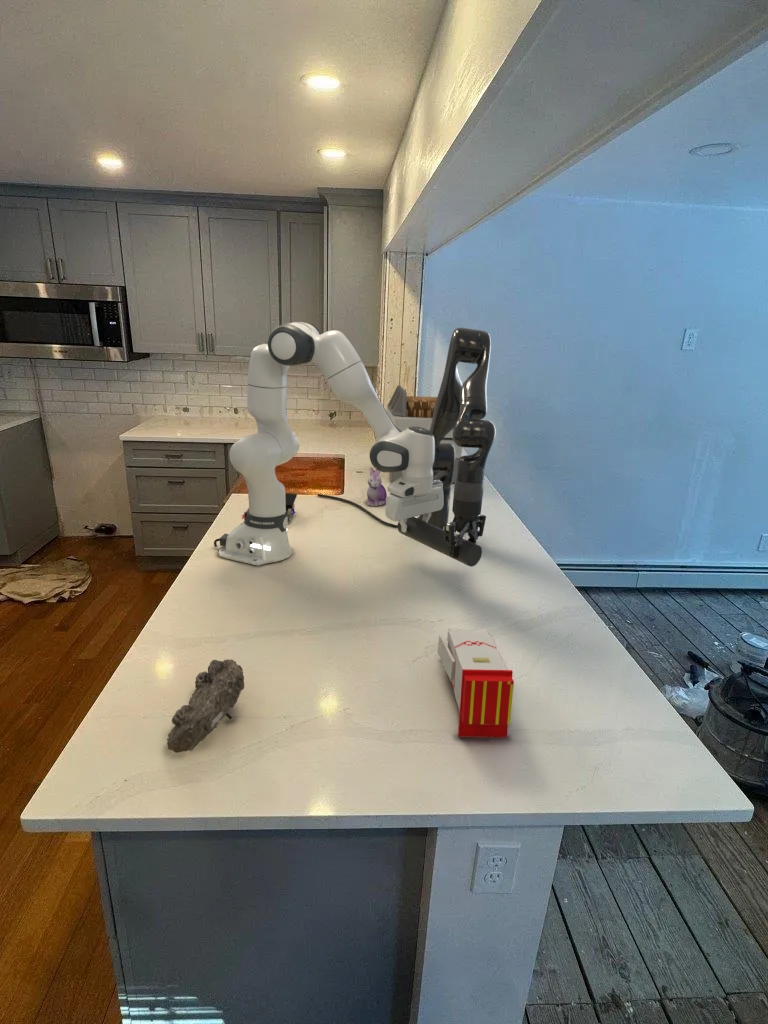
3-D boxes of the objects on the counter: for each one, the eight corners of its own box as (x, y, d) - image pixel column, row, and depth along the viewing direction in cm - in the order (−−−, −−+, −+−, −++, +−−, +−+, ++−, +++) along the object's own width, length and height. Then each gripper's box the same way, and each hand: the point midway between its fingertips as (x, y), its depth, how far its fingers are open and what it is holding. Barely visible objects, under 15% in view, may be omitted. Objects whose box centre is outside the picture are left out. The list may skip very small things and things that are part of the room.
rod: (480, 563, 153) (483, 542, 151) (465, 569, 149) (467, 547, 147) (412, 531, 173) (413, 512, 171) (396, 535, 169) (397, 516, 167)
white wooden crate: (382, 463, 289) (386, 382, 275) (445, 464, 293) (451, 384, 279) (390, 482, 257) (394, 392, 243) (460, 483, 261) (468, 394, 247)
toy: (488, 613, 130) (523, 677, 101) (484, 667, 133) (517, 744, 104) (435, 612, 130) (455, 676, 101) (432, 666, 133) (451, 743, 103)
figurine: (371, 508, 224) (372, 471, 219) (360, 500, 232) (361, 464, 227) (392, 505, 228) (394, 469, 223) (380, 497, 236) (382, 462, 231)
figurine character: (292, 528, 204) (297, 509, 217) (292, 509, 201) (297, 491, 214) (274, 527, 204) (280, 509, 217) (273, 508, 200) (279, 491, 214)
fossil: (192, 660, 117) (244, 628, 112) (224, 691, 120) (276, 661, 115) (142, 746, 98) (202, 712, 93) (182, 779, 101) (242, 748, 96)
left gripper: (435, 476, 171) (432, 519, 176) (383, 486, 158) (381, 532, 163) (450, 481, 166) (446, 525, 171) (397, 492, 154) (395, 539, 159)
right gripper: (475, 487, 155) (469, 544, 161) (438, 496, 146) (433, 556, 152) (497, 495, 149) (490, 553, 155) (459, 504, 141) (453, 566, 146)
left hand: (414, 529), depth 167 cm, fingers closed on rod, 6 cm apart
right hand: (462, 554), depth 153 cm, fingers closed on rod, 6 cm apart
